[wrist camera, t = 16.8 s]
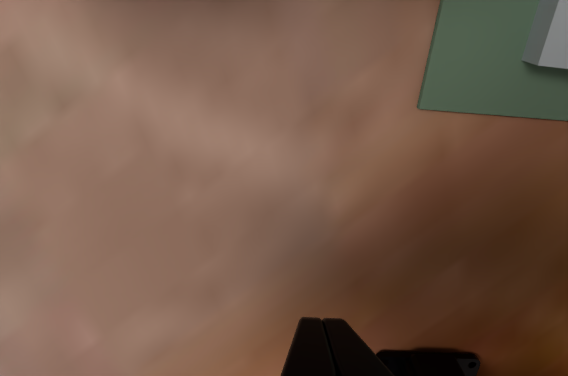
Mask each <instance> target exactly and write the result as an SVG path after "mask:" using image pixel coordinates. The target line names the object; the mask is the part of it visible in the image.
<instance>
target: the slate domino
mask: <svg viewBox="0 0 568 376" xmlns="http://www.w3.org/2000/svg"><path fill="white" fill-rule="evenodd" d="M521 60H522V61H525V62H528V63H531V64H534V65H537V66H546V67H555V68H565V69H568V0H540V1H539V4H538V7H537V11H536V14H535V17H534V20H533V24H532V27H531V30H530V33H529V37H528V40H527V43H526V46H525V50H524V53H523V56H522V59H521Z"/></svg>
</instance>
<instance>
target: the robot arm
mask: <svg viewBox="0 0 568 376" xmlns="http://www.w3.org/2000/svg"><path fill="white" fill-rule="evenodd" d="M382 360H384V361H382ZM479 366H480V361H479V360H478V358H477V356H476V355H474V354H457V353H420V352H380V353H378V354H377V355H375V353H374V352H373V351H372V350H371V349H370V348H369V347H368V346H367V345H366V343H365V342H364V341H363V340H362V339H361V338H360V337H359V336H358V334H357V333H356V332H355V331H354V330H353V329H352V328H351V327H350V326H349V324H348V323H347V322H346V321H345V320H343V319H340V318H324V319H323V320H321V319H320V318H312V317H302V318H301V319H300V320H299V323H298V326H297V329H296V332H295V335H294V338H293V341H292V344H291V347H290V349H289V352H288V355H287V358H286V361H285V364H284V367H283V370H282V373H281V376H476V374H477V372H478V369H479Z"/></svg>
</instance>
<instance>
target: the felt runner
mask: <svg viewBox="0 0 568 376" xmlns="http://www.w3.org/2000/svg"><path fill="white" fill-rule="evenodd" d="M539 1H540V0H440V5H439V9H438V14H437V19H436V23H435V28H434V32H433V37H432V41H431V46H430V50H429V55H428V59H427V64H426V68H425V73H424V77H423V82H422V86H421V91H420V95H419V100H418V104H417V108H418V109H426V110H439V111H451V112H464V113H477V114H489V115H502V116H515V117H527V118H540V119H552V120H565V121H568V69H565V68H555V67H546V66H537V65H534V64H531V63H528V62H525V61H522V60H521V59H522V56H523V53H524V50H525V46H526V43H527V40H528V37H529V33H530V30H531V27H532V24H533V20H534V17H535V14H536V11H537V7H538V4H539Z"/></svg>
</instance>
